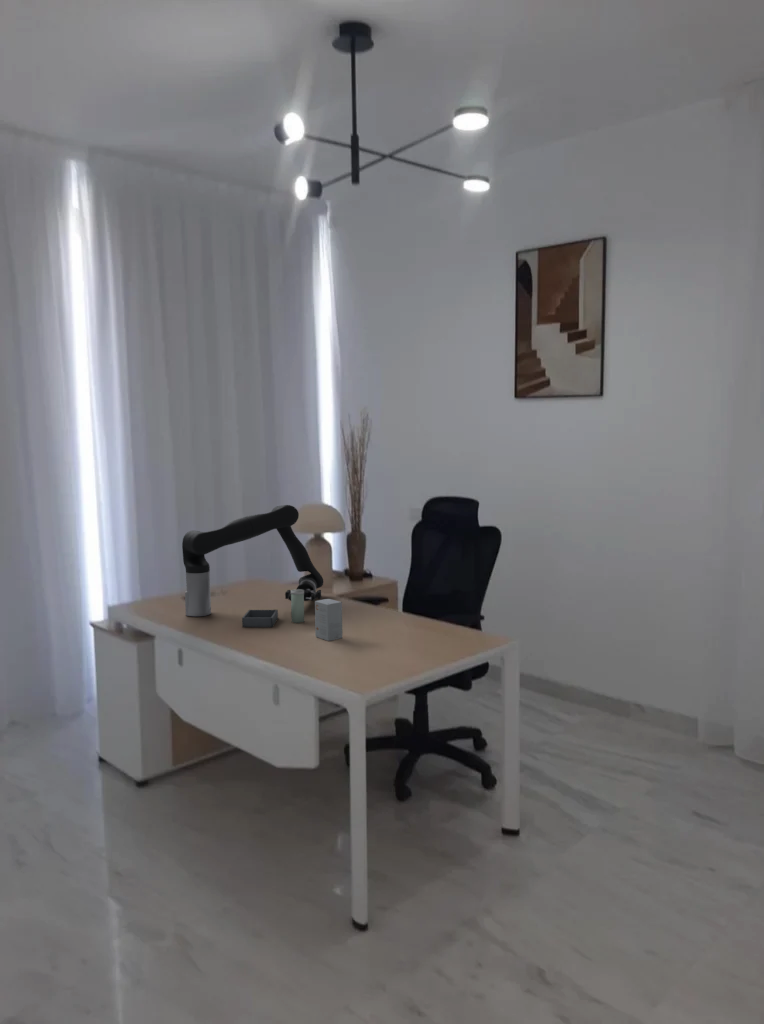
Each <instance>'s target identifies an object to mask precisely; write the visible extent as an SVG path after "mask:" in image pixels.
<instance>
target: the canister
mask: <svg viewBox="0 0 764 1024" xmlns="http://www.w3.org/2000/svg"><path fill="white" fill-rule="evenodd" d="M290 590H291V601H290V604H291V605H290V606H291V623H292V622H294V624H301V623H300V622H303V623H304V622H305V601H304V590H302V589H297V588H296V589H295V588H293V589H290Z"/></svg>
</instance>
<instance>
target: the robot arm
mask: <svg viewBox="0 0 764 1024" xmlns="http://www.w3.org/2000/svg"><path fill="white" fill-rule="evenodd" d="M299 514H300V513H299V510H298V509H297V508H296V507H295V506H294V505H290V504H283V505H278V506H275V507H273V508H272V510H271V511H270V512H266V513H265V512H264V513H258V514H253V515H247V516H243V517H240V518H236V519H234V520H232V521H229V522H228V523H227V524H225V525H224V526H222V527H221V528H218V529H213V530H209V531H200V530H190V531H188V532H186V533H185V534H184V535H183V538H182V541H181V542H182V544H181V546H182V549H181V550H182V561H183V565H184V567H185V568H184V569H185V584H186V585H185V586H186V587H185V588H186V591H184V602H185V604H184V605H185V616H186V617H187V616H189V617H205V616H209V615H211V614H212V605H211V604H212V602H211V600H212V599H211V597H212V596H211V574H210V573H211V572H210V570H211V569H210V566H211V565H210V563H209V562H208V561H207V559H206V557H205V555H207V554H209V553H211V552H214V551H216V550H218V549H221V548H223V547H225V546H229V545H234V544H236V543H237V544H238V543H240V542H244V541H247V540H250V539H251V540H252V539H253V538H256V537H258V536H261V535H264V534H266V533H268V532H270V531H272V530H276V531H277V532H278V534H279V536H280V537H281V539H282V541H283V543H284V544H285V546H286V548H287V550H288V552H289V554H290V556H291V558H292V561H293V563H294V565H295V569H296V570H297V572H299V573H303V572H308V573H309V574H305V575H304V576H301V577H300V578H299V579H298V586H297V587H296V589H302V590H304V602H308V601H310V600H311V601H312V602H313V601H316V600H322V589H319V588H321V587H323V586H324V578H323V576H322V575H321V573H320V572H319V571H318V570H317V568H316V567H315V565H314V564H313V562H312V560H311V558H310V555H309V552H308V550H307V548H306V547H305V545H304V544H303V543H302V542H301V541H300V540H299V538H298V537H297V535H296V534H295V532H294V531H293V529H292V526H293V525H295V524H296V523H297V521H298V520H299ZM291 590H292V589H287V590H286V591H285V592H284V593H285V594H284V595H285V598H284V599H286V600H288V601H289V602H291Z"/></svg>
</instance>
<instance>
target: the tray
mask: <svg viewBox="0 0 764 1024" xmlns="http://www.w3.org/2000/svg"><path fill="white" fill-rule="evenodd" d="M278 613H279V612H278V609H248V610H247V611H246V613H244V615H243V616H242V617H241V627H242V628H273V627H274V626H275V624H276V623H277V621H278V620H279V617H278V616H279V614H278ZM276 620H277V621H276Z"/></svg>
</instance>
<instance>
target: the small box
mask: <svg viewBox="0 0 764 1024" xmlns="http://www.w3.org/2000/svg"><path fill="white" fill-rule="evenodd" d="M314 620H315V621H314V626H315V627H314V631H315V632H314V633H315V634H314V635H315V636H316V638H319V639H321V640H325V641H326V642H331V641H335V639H336V640H340V639H343V601H340V600H335V599H332V598H324V599H317V600H314Z"/></svg>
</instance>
